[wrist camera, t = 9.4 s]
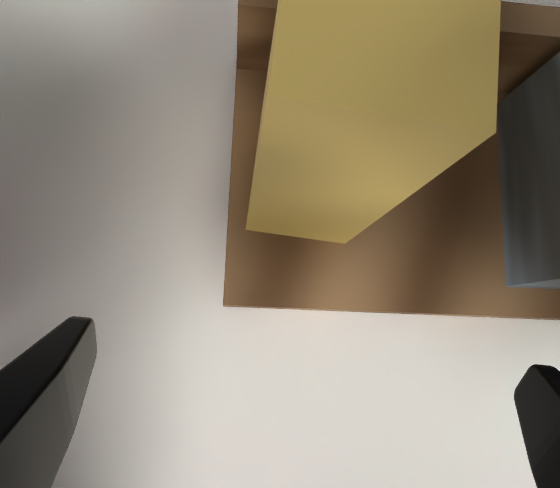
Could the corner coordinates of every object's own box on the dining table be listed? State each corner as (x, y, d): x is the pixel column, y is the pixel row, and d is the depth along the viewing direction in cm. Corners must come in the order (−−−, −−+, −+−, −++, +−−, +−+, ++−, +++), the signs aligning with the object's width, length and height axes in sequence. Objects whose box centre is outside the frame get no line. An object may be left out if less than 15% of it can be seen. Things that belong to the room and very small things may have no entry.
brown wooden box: (223, 306, 19) (215, 276, 8) (237, 58, 21) (246, -232, 10) (612, 322, 21) (1035, 314, 10) (591, 90, 23) (925, -130, 12)
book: (245, 229, 19) (267, 95, 8) (263, 101, 20) (303, -174, 9) (344, 243, 19) (496, 132, 8) (357, 116, 20) (505, -131, 9)
